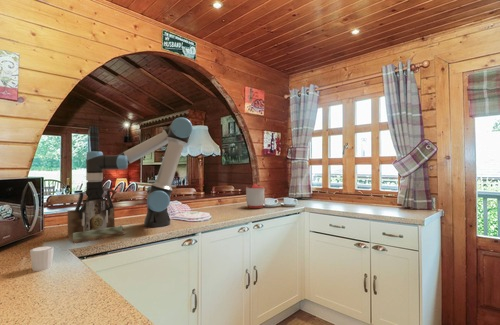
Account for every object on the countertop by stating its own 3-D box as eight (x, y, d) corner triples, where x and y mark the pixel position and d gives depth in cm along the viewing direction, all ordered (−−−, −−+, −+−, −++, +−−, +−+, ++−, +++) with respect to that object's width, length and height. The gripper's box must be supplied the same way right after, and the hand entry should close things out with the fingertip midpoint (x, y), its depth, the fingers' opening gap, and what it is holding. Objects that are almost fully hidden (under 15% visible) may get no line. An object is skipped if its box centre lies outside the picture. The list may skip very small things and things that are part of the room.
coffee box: (99, 227, 150) (99, 197, 150) (107, 228, 147) (106, 198, 147) (82, 231, 142) (82, 199, 142) (89, 232, 139) (89, 200, 139)
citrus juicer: (254, 205, 240) (254, 182, 240) (268, 207, 227) (268, 183, 227) (240, 207, 230) (240, 183, 230) (254, 210, 217) (254, 184, 217)
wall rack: (113, 228, 157) (113, 205, 157) (124, 234, 144) (123, 209, 144) (67, 236, 142) (67, 210, 142) (74, 243, 129) (74, 215, 129)
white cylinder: (28, 268, 99) (28, 248, 99) (52, 263, 104) (51, 244, 104) (31, 273, 94) (31, 252, 94) (55, 268, 99) (55, 248, 99)
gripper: (115, 179, 155) (115, 219, 155) (67, 181, 139) (67, 226, 139) (120, 180, 149) (120, 221, 149) (70, 182, 134) (70, 228, 134)
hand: (95, 223), depth 144 cm, fingers closed on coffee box, 10 cm apart
